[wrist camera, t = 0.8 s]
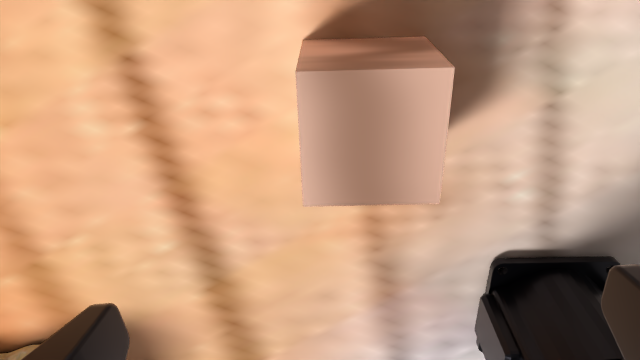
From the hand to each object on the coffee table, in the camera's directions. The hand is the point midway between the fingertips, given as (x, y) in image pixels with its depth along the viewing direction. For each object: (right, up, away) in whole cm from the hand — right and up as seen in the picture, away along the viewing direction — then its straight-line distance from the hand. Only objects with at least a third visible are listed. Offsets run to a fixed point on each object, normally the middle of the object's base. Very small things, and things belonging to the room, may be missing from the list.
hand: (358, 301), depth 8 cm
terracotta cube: (+1, +6, +12) cm, 13 cm away
